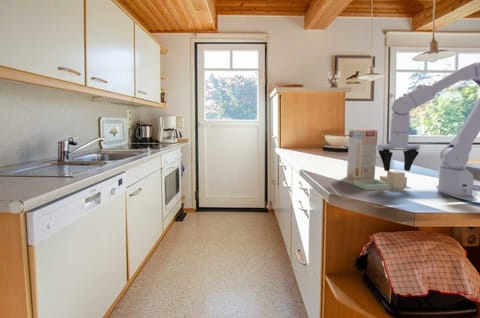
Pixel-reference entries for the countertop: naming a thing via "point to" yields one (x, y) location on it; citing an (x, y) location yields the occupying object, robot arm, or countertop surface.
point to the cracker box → (362, 154)
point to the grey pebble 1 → (383, 178)
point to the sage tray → (364, 182)
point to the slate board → (404, 187)
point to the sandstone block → (396, 179)
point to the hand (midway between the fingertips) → (396, 170)
